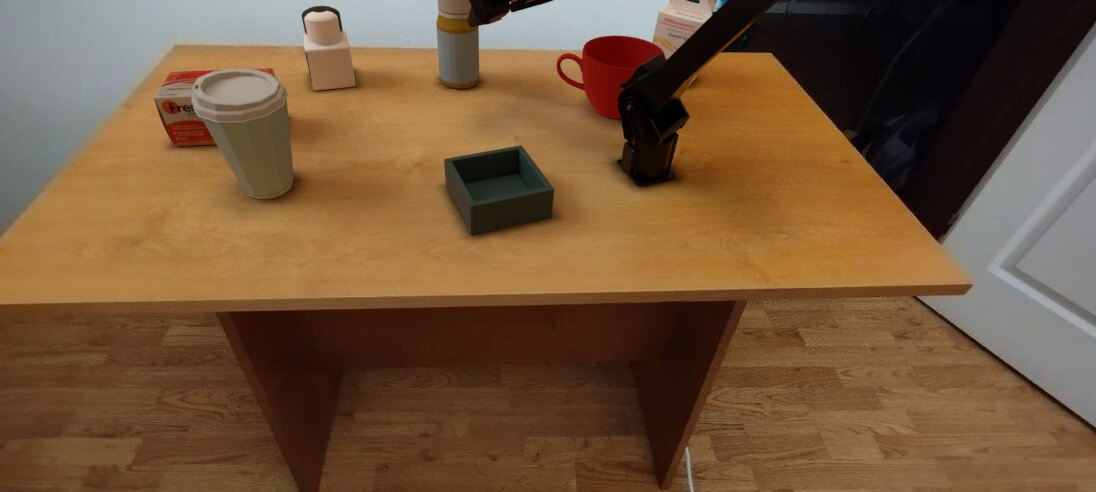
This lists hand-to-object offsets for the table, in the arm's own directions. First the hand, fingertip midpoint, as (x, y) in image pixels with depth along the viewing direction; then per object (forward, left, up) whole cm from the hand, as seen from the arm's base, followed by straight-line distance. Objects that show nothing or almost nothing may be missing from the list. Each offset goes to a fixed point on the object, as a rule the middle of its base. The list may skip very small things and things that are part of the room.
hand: (490, 16), depth 88 cm
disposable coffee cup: (+37, +14, -14) cm, 42 cm away
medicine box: (+41, -3, -14) cm, 43 cm away
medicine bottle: (+24, -16, -14) cm, 32 cm away
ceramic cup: (-17, +8, -14) cm, 24 cm away
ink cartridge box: (-35, +1, -14) cm, 38 cm away
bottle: (+3, -9, -14) cm, 17 cm away
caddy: (+9, +27, -14) cm, 32 cm away
